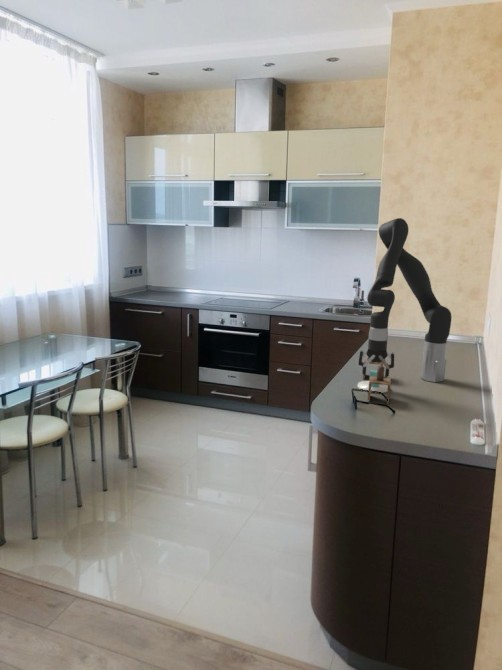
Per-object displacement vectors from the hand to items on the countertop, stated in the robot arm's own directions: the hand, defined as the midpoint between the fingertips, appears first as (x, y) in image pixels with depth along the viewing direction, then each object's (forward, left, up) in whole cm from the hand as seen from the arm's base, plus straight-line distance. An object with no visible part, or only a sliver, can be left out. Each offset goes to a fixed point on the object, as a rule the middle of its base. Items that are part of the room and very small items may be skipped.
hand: (375, 376), depth 229 cm
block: (+1, 0, -4) cm, 4 cm away
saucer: (+1, 0, -5) cm, 5 cm away
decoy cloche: (-11, +8, -5) cm, 15 cm away
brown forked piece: (+13, -10, -5) cm, 17 cm away
